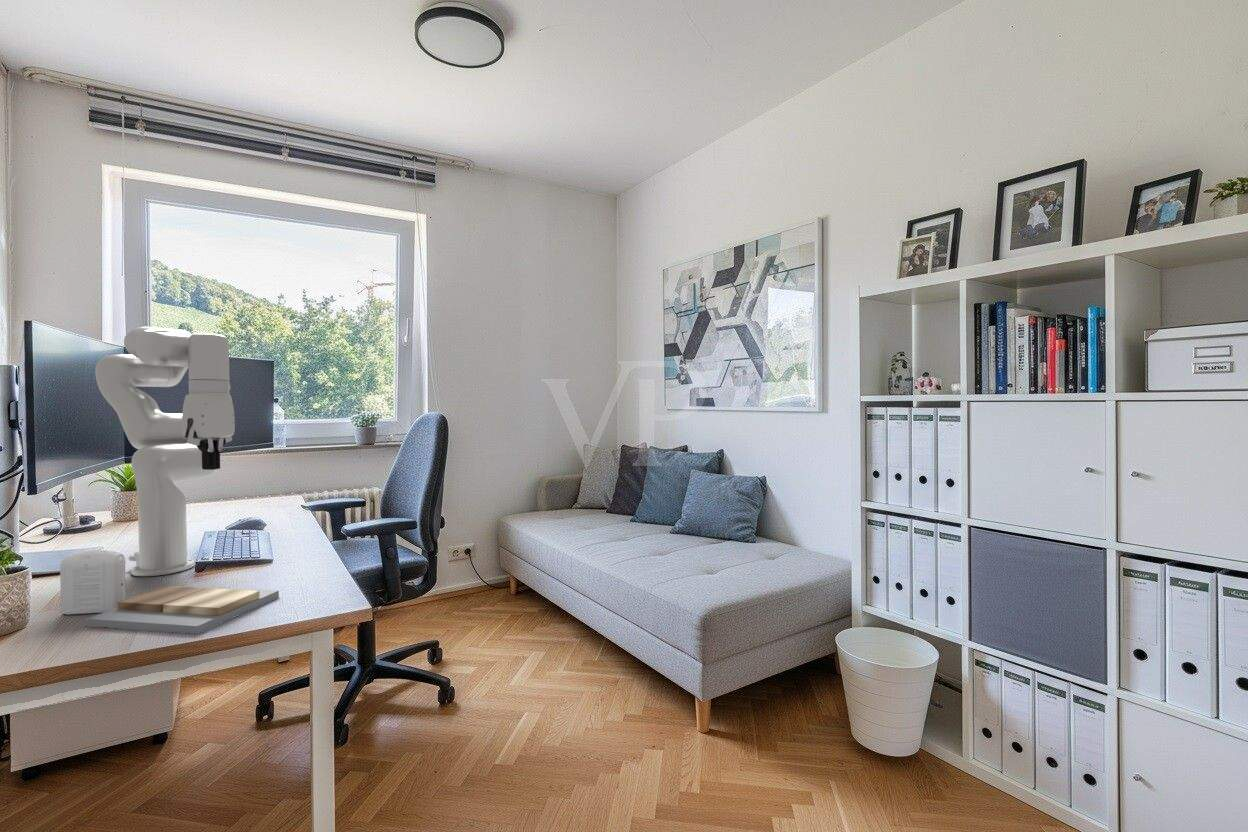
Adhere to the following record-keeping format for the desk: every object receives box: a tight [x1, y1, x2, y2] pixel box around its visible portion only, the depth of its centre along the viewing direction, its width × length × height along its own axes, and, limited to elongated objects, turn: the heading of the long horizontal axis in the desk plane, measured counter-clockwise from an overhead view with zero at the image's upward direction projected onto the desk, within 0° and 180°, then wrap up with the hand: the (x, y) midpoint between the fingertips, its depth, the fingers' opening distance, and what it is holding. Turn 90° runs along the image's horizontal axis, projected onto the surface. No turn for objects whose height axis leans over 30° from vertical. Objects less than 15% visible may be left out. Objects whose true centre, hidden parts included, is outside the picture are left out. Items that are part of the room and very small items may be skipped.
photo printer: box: [59, 549, 127, 615], centre depth 117 cm, size 10×4×12 cm, turn 103°
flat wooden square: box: [118, 585, 206, 612], centre depth 118 cm, size 10×10×2 cm
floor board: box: [85, 584, 280, 635], centre depth 117 cm, size 24×20×2 cm
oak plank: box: [163, 588, 260, 616], centre depth 116 cm, size 12×10×2 cm
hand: (211, 469), depth 132 cm, fingers closed
